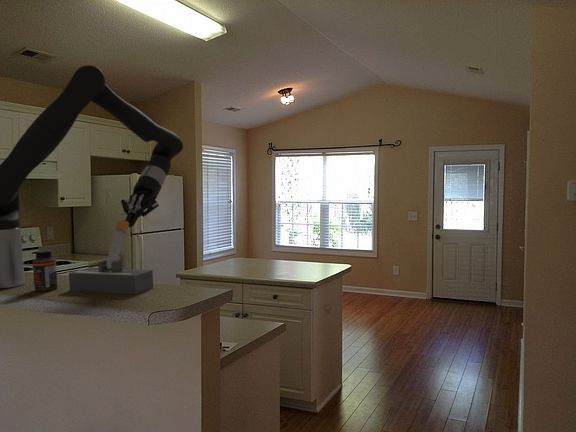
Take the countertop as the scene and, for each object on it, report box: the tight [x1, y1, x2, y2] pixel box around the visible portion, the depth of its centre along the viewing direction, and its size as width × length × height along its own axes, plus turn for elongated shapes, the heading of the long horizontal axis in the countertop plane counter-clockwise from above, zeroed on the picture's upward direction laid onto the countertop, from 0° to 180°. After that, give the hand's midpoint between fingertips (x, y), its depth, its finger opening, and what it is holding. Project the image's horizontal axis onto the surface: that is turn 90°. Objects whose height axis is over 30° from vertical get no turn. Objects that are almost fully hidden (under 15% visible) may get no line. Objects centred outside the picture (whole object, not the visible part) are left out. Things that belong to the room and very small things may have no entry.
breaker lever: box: [105, 220, 130, 271], centre depth 139 cm, size 3×2×15 cm, turn 71°
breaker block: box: [68, 259, 154, 295], centre depth 137 cm, size 22×8×8 cm, turn 71°
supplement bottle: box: [32, 249, 58, 293], centre depth 138 cm, size 6×6×11 cm
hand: (128, 225), depth 144 cm, fingers closed
